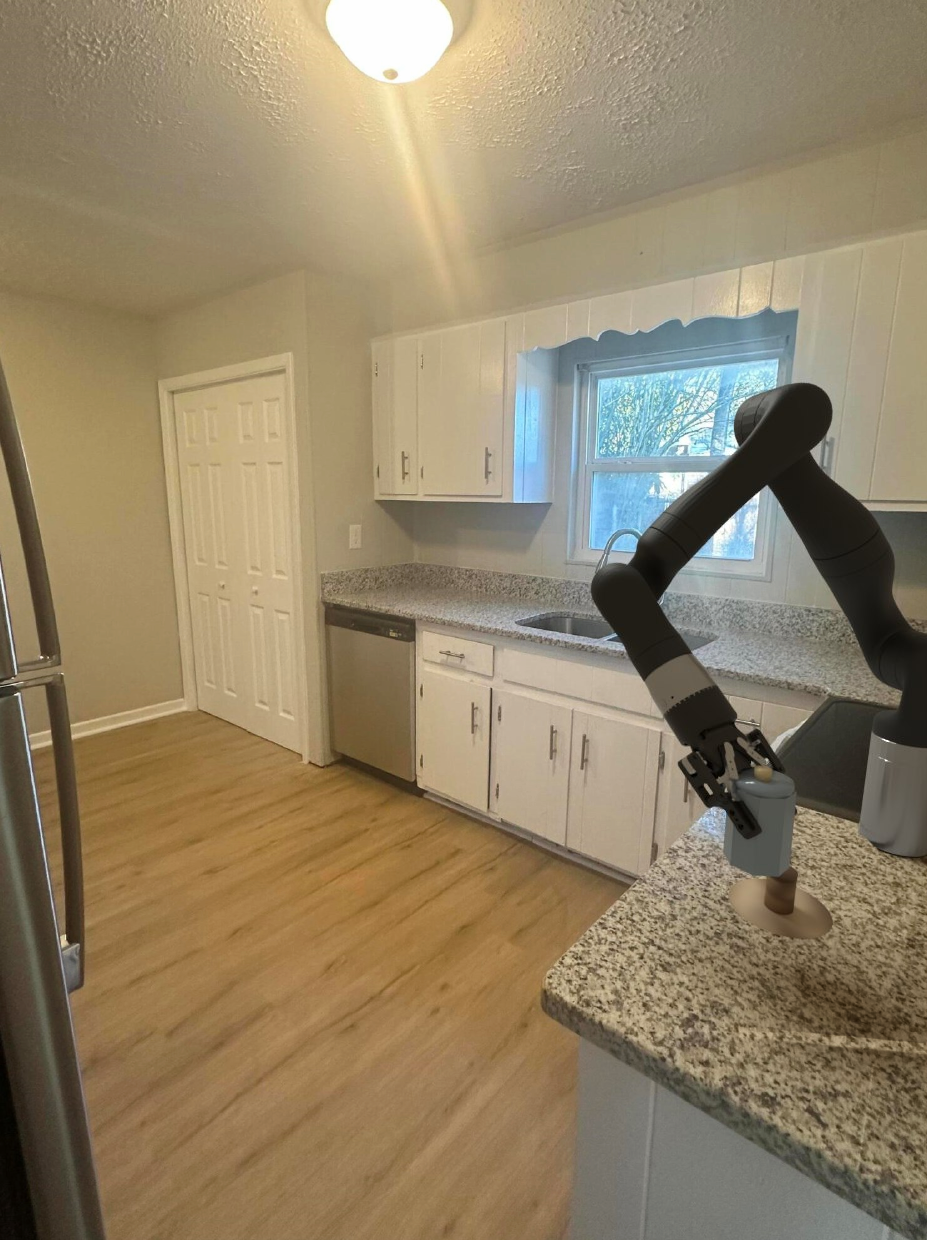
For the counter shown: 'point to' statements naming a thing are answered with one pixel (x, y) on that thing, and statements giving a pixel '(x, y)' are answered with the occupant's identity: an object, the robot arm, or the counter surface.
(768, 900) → the spice jar
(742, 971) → the counter surface
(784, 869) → the octagonal knobbed canister
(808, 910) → the trivet
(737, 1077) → the counter surface
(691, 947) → the counter surface
